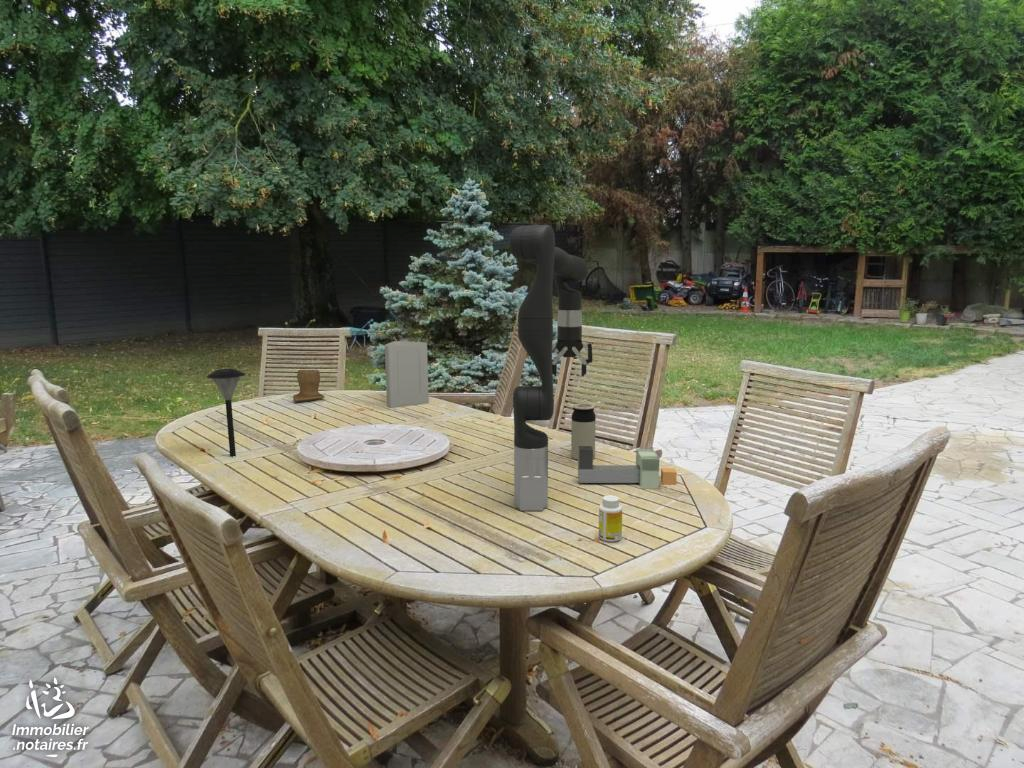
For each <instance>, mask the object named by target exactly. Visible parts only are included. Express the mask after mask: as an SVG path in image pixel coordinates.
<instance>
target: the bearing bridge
mask: <svg viewBox="0 0 1024 768" xmlns="http://www.w3.org/2000/svg"><path fill="white" fill-rule="evenodd" d="M635 465H639V467H640V483H639V487H640V489H647V490H649V489H652V490H654V489H655V490H656V489H657V490H658V489H659V485H660V483H659V482H660V481H659V479H660V458H659V456H658V455H657V453H656V452H655V450H654V449H653V448H636V451H635Z"/></svg>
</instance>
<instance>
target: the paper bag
mask: <svg viewBox="0 0 1024 768" xmlns="http://www.w3.org/2000/svg"><path fill="white" fill-rule="evenodd" d="M428 361H429V359H428V342H423V341H402V340H398V341H397V340H396V341H394V340H393V341H391V342H389V343H387V344H384V363H385V385H386V386H385V389H386V392H385V393H386V406H387V407H388V408H390V409H394V408H402V407H408V406H409V407H410V406H411V407H412V406H418V405H426V404H429V395H430V394H429V365H428V363H429V362H428Z"/></svg>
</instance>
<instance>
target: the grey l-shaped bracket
mask: <svg viewBox="0 0 1024 768" xmlns="http://www.w3.org/2000/svg"><path fill="white" fill-rule="evenodd" d="M577 462H578V463H577V480H578V483H579V484H589V483H590V484H640V467H639V465H636V464H635V465H633V464H632V465H630V464H626V465H624V464H621V465H620V464H617V465H616V464H612V465H609V464H608V465H607V464H606V465H605V464H604V465H603V464H599V465H597V464H595V465H594V463H593V462H594V458H593V448H592V446H578V460H577Z"/></svg>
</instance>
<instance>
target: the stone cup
mask: <svg viewBox="0 0 1024 768" xmlns="http://www.w3.org/2000/svg"><path fill="white" fill-rule="evenodd" d="M296 378H297V379H296V380H297V383H298V386H299V392H298V393H296V394H293V396H292V399H293V402H294V403H303V402H311V401H316V400H320V399H323V398H324V399H325V395H324V394H322V393H320V392H319V385H320V383H321V382H320V381H321V373H320V370H318V369H298V370H297V375H296Z"/></svg>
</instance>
